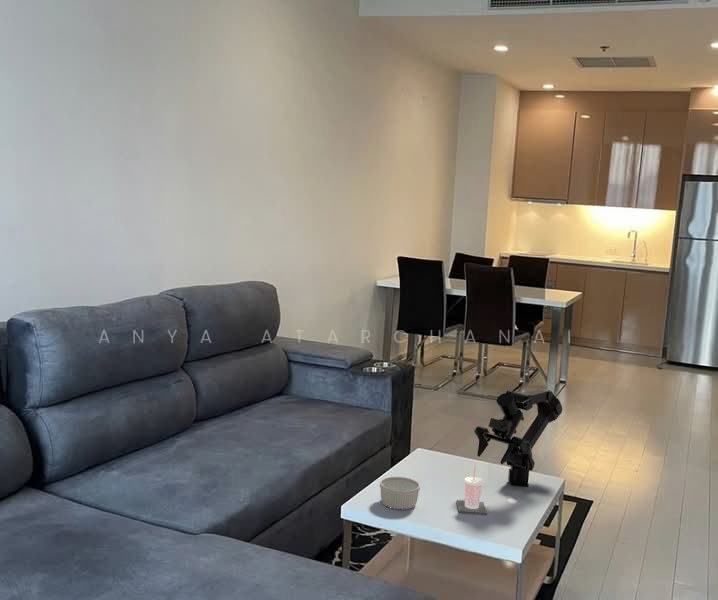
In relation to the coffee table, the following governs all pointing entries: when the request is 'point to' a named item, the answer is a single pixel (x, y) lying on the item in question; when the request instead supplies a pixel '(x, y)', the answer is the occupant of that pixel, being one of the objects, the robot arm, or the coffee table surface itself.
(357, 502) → the coffee table surface
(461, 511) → the coaster
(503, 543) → the coffee table surface
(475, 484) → the beverage cup
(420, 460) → the coffee table surface
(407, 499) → the ramekin
